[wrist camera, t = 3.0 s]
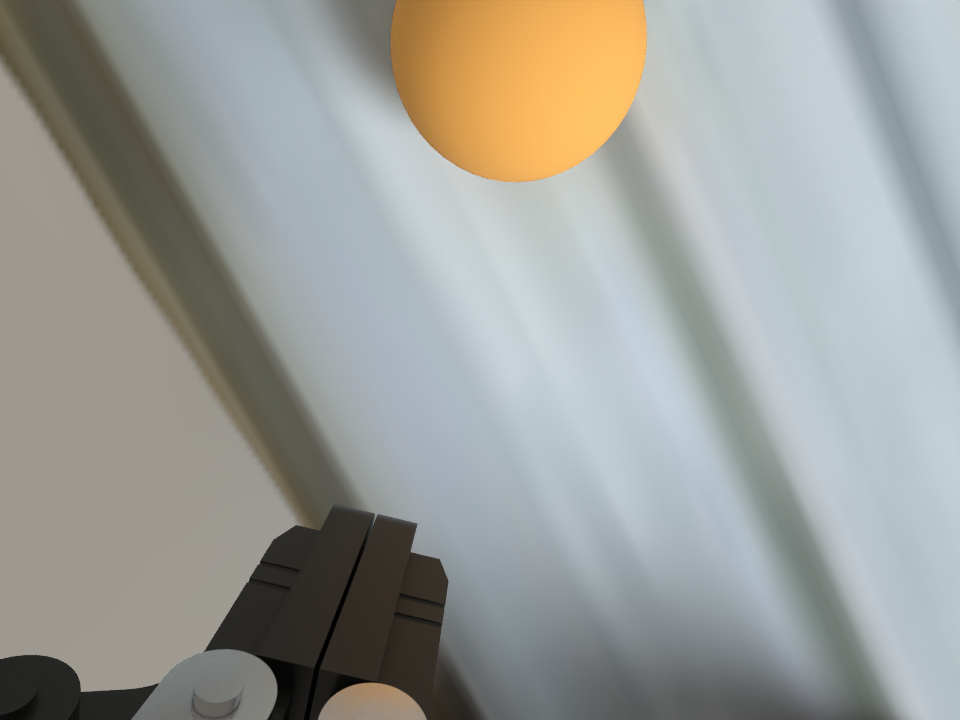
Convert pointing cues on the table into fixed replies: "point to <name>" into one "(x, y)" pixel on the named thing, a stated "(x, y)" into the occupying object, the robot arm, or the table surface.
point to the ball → (517, 79)
